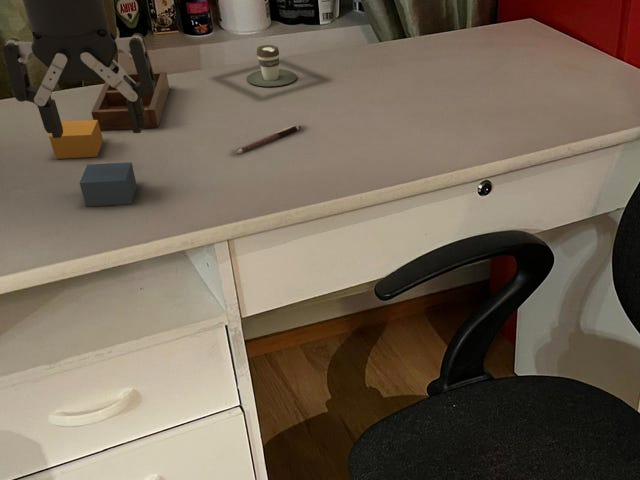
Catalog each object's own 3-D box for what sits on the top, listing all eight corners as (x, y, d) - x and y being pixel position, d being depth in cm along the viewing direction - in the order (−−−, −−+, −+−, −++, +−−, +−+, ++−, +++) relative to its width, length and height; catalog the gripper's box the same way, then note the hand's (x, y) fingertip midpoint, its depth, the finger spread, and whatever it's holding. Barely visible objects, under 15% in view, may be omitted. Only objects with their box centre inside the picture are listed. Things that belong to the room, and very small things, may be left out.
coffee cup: (280, 61, 141) (276, 30, 138) (325, 80, 134) (323, 48, 131) (216, 78, 134) (210, 45, 131) (260, 99, 127) (256, 65, 124)
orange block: (55, 159, 109) (48, 136, 107) (63, 143, 113) (57, 121, 111) (97, 157, 110) (91, 134, 108) (103, 141, 114) (97, 119, 112)
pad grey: (85, 206, 99) (79, 182, 97) (93, 187, 103) (87, 164, 101) (131, 204, 100) (125, 180, 98) (137, 185, 104) (131, 161, 102)
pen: (298, 129, 119) (297, 122, 119) (302, 130, 119) (301, 123, 118) (234, 154, 112) (233, 147, 111) (238, 156, 112) (237, 149, 111)
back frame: (95, 130, 117) (91, 112, 115) (113, 90, 129) (109, 73, 127) (158, 127, 118) (154, 109, 116) (169, 88, 130) (166, 71, 128)
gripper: (136, -31, 91) (167, 117, 101) (-8, -27, 89) (38, 124, 99) (126, -13, 85) (160, 142, 95) (-28, -8, 83) (23, 150, 93)
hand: (98, 133), depth 97 cm, fingers open, 8 cm apart
